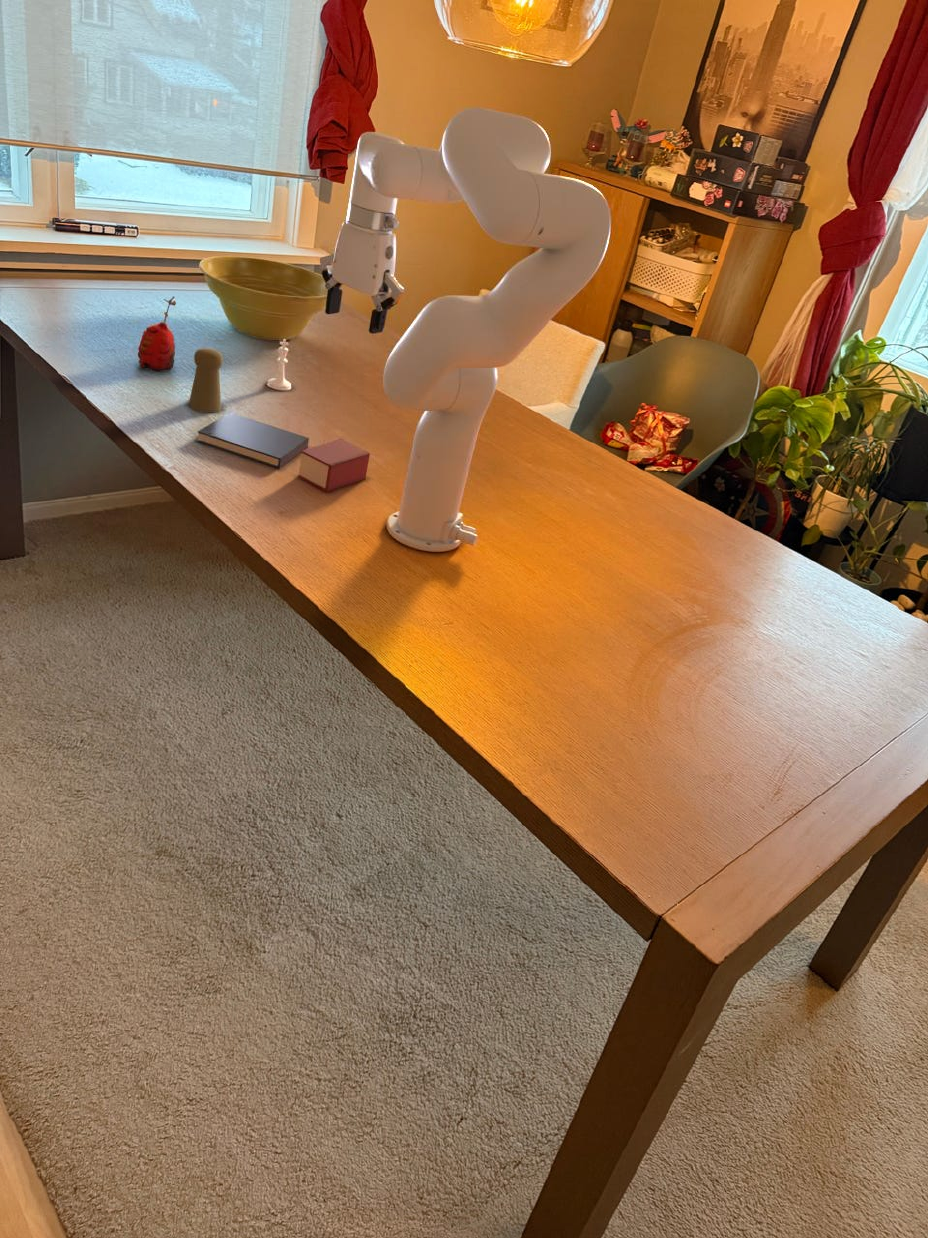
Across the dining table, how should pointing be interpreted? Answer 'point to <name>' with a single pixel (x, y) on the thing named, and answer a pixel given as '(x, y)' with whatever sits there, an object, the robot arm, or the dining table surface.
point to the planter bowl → (265, 294)
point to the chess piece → (280, 371)
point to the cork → (206, 381)
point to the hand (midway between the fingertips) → (353, 322)
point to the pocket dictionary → (333, 465)
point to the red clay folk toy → (157, 346)
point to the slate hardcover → (253, 440)
